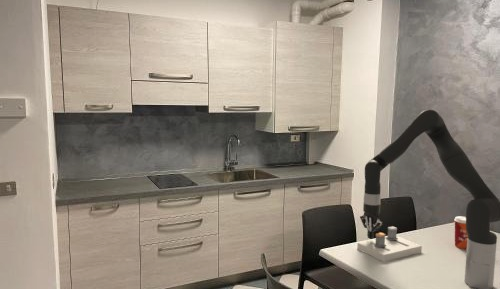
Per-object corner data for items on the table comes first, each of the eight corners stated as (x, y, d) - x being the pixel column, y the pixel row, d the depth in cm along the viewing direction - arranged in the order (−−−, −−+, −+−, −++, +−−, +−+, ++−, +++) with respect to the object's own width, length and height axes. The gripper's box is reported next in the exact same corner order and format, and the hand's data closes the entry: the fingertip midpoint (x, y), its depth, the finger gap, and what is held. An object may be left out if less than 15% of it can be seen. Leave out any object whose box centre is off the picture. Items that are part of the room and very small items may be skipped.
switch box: (383, 261, 159) (383, 254, 158) (357, 248, 173) (357, 242, 173) (421, 252, 169) (421, 245, 169) (393, 240, 184) (394, 234, 183)
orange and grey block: (379, 247, 166) (379, 235, 165) (373, 245, 168) (374, 233, 168) (386, 246, 168) (386, 234, 167) (380, 243, 170) (381, 232, 170)
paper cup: (461, 250, 172) (463, 221, 170) (448, 244, 179) (450, 216, 178) (474, 248, 174) (477, 220, 172) (461, 242, 181) (463, 215, 180)
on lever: (391, 240, 175) (391, 229, 174) (385, 238, 177) (386, 227, 177) (397, 239, 177) (398, 227, 176) (392, 237, 179) (393, 225, 179)
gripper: (388, 204, 167) (387, 241, 169) (367, 198, 179) (366, 232, 181) (376, 206, 164) (375, 244, 166) (355, 200, 176) (354, 235, 177)
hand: (370, 238), depth 173 cm, fingers closed
